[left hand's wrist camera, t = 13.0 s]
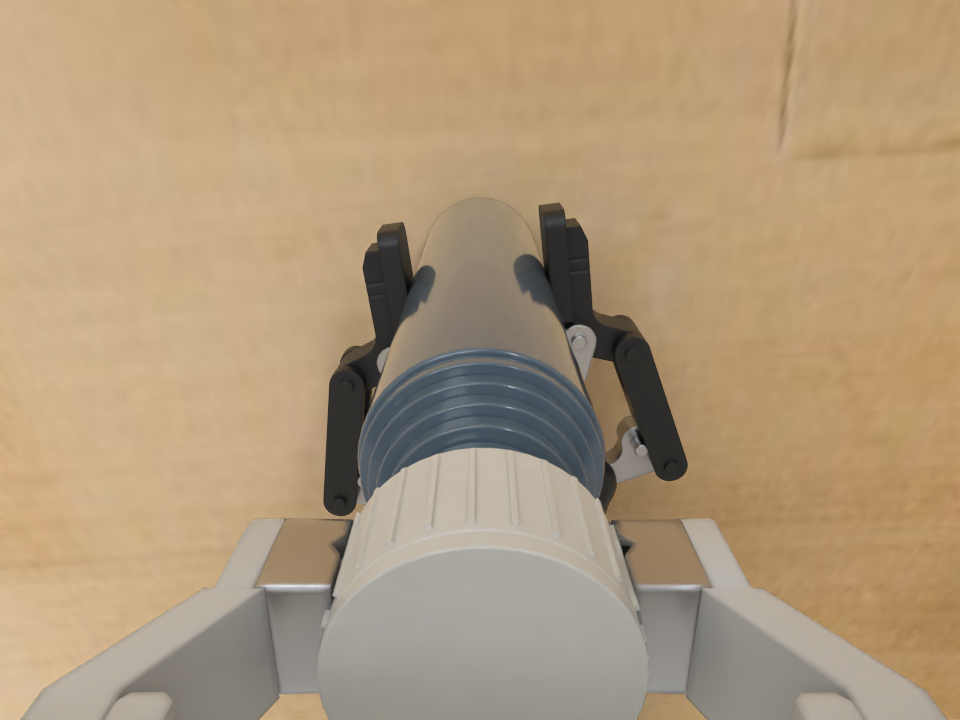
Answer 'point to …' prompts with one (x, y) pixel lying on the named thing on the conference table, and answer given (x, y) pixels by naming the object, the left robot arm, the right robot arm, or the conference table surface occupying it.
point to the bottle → (480, 358)
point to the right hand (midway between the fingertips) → (469, 219)
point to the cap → (483, 600)
